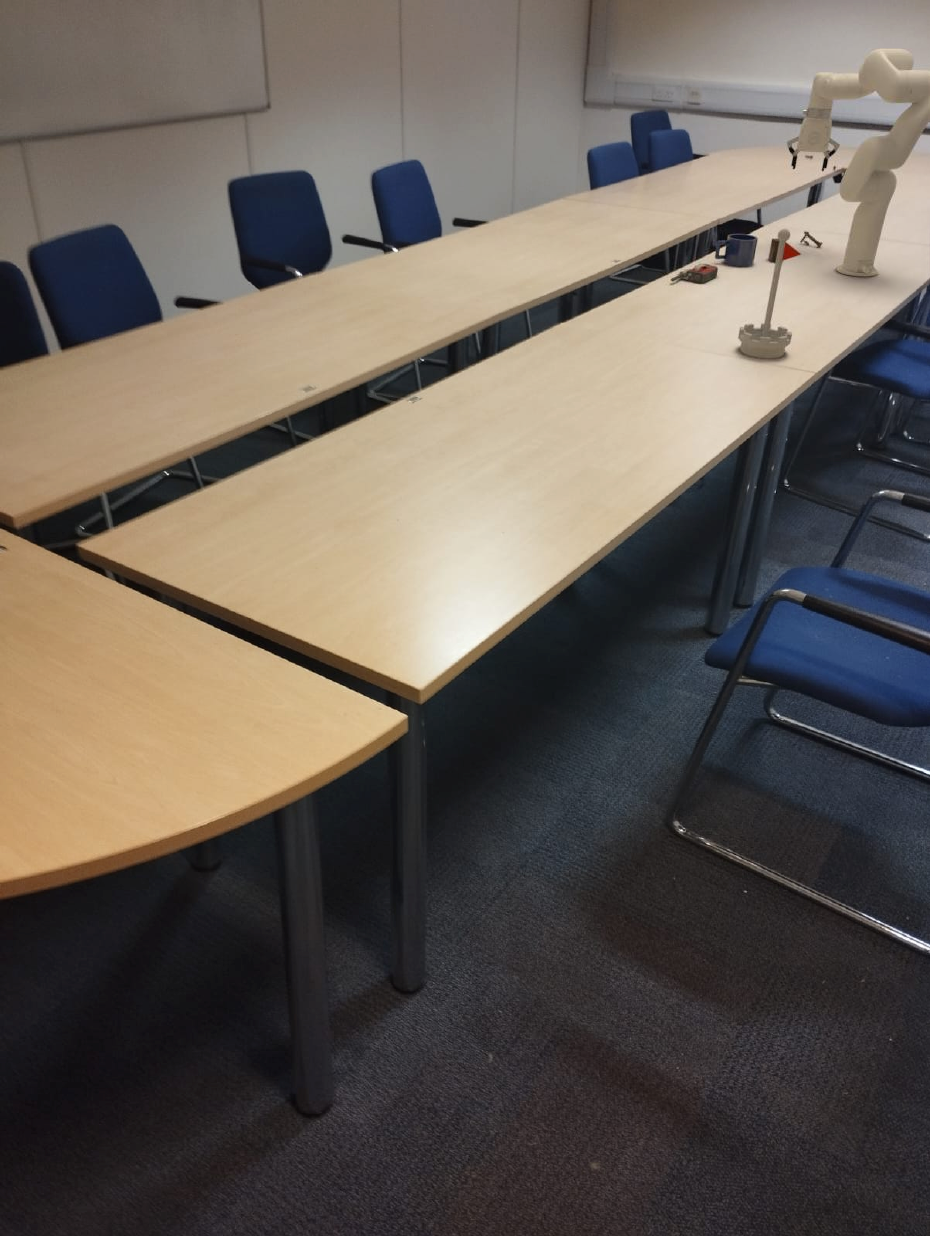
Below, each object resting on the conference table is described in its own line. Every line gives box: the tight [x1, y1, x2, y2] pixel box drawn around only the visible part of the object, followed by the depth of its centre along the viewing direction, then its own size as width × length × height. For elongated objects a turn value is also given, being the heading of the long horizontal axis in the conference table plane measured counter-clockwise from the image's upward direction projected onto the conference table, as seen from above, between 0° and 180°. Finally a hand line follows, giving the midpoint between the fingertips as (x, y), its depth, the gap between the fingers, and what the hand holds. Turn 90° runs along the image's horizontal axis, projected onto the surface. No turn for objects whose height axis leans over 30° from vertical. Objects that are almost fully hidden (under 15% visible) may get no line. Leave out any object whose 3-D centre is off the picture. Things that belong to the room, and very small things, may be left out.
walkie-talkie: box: [670, 262, 719, 284], centre depth 309 cm, size 9×4×20 cm
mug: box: [714, 233, 759, 268], centre depth 328 cm, size 13×10×8 cm
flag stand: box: [737, 228, 802, 359], centre depth 243 cm, size 13×13×30 cm
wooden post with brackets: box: [799, 230, 823, 249], centre depth 354 cm, size 2×8×4 cm, turn 45°
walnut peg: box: [767, 238, 780, 263], centre depth 332 cm, size 3×3×7 cm
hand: (808, 169), depth 336 cm, fingers open, 9 cm apart
